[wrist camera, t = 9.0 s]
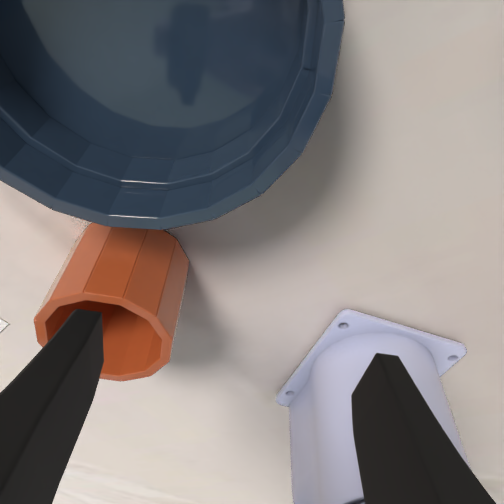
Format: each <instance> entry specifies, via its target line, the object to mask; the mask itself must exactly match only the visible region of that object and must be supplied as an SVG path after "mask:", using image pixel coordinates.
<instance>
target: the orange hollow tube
mask: <svg viewBox="0 0 504 504" xmlns="http://www.w3.org/2000/svg"><path fill="white" fill-rule="evenodd" d="M188 268H189V260H188V258H187V256H186V255H185V253H184V251H183V249H182V248H181V246H180V244H179V242H178V240H177V239H176V238H175V237H173V236H172V235H170V234H169V233H167V232H165V231H164V230H151V229H135V228H119V227H108V226H103V225H100V224H96V223H91V224H89V225H88V226H87V228H86V229H85V230H84V231H83V233H82V234H81V235H80V236H79V238H78V239H77V240H76V241H75V243H74V245H73V247H72V249H71V251H70V252H69V254H68V256H67V258H66V260H65V262H64V264H63V265H62V267H61V269H60V271H59V273H58V275H57V276H56V278H55V280H54V282H53V284H52V286H51V288H50V289H49V291H48V293H47V295H46V297H45V299H44V300H43V302H42V304H41V306H40V308H39V310H38V312H37V313H36V315H35V317H34V324H35V330H36V335H37V341H38V343H39V344H40V345H41V346H42V347H44V346H45V345H46V344H47V342H48V341H49V340H50V339H51V338H52V337H53V335H54V334H55V333H56V332H57V331H58V329H59V328H60V327H61V326H62V324H63V323H64V322H65V321H66V319H67V318H68V317H69V316H70V314H71V313H72V312H73V311H74V310H76V309H83V310H90V311H97V312H102V326H103V350H104V363H103V367H102V370H101V374H100V377H99V378H100V379H107V380H114V381H128V380H133V379H138V378H144V377H149V376H152V375H153V374H154V373H156V372H157V371H158V370H159V369H161V368H162V367H163V366H164V365H166V364H167V363H168V362H169V361H170V358H171V354H172V349H173V344H174V339H175V335H176V330H177V325H178V320H179V316H180V311H181V306H182V301H183V297H184V292H185V287H186V282H187V275H188Z"/></svg>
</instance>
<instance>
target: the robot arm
mask: <svg viewBox="0 0 504 504" xmlns="http://www.w3.org/2000/svg"><path fill="white" fill-rule="evenodd" d="M341 323H344V324H341ZM466 353H467V349H466V347H465V345H464V344H462V343H460V342H456V341H453V340H450V339H447V338H443V337H440V336H437V335H433V334H430V333H427V332H424V331H420V330H417V329H414V328H411V327H407V326H404V325H401V324H397V323H394V322H391V321H388V320H384V319H381V318H378V317H374V316H371V315H368V314H365V313H361V312H358V311H355V310H351V309H344V310H342V311H340V312H339V313H338V315H337V316H336V317H335V319H334V320H333V321H332V323H331V324H330V325H329V327H328V328H327V329H326V330H325V332H324V333H323V334H322V336H321V337H320V338H319V340H318V341H317V342H316V344H315V345H314V346H313V348H312V349H311V350H310V352H309V353H308V354H307V355H306V357H305V358H304V359H303V361H302V362H301V363H300V365H299V366H298V367H297V369H296V370H295V371H294V373H293V374H292V375H291V377H290V378H289V379H288V380H287V382H286V383H285V384H284V386H283V387H282V388H281V390H280V391H279V392H278V394H277V395H276V402H277V403H278V404H280V405H283V406H287V407H289V419H290V449H291V478H292V496H293V502H294V504H496V503H495V502H494V500H493V499H492V498H491V497H490V495H489V494H488V493H487V491H486V490H485V489H484V487H483V486H482V485H481V483H480V482H479V481H478V479H477V478H476V477H475V475H474V474H473V472H472V471H471V468H470V465H469V462H468V459H467V456H466V453H465V450H464V447H463V444H462V441H461V438H460V435H459V432H458V429H457V426H456V424H455V421H454V418H453V415H452V412H451V409H450V406H449V403H448V400H447V397H446V394H445V391H444V388H443V385H442V382H441V379H440V376H442V375H443V374H444V373H445V372H446V371H447V370H448V369H450V368H451V367H452V366H453V365H454V364H455V363H456V362H458V361H459V360H460V359H461V358H462V357H463V356H464V355H465V354H466ZM103 363H104V350H103V326H102V312H97V311H90V310H83V309H76V310H74V311H73V312H72V313H71V314H70V316H69V317H68V318H67V319H66V321H65V322H64V323H63V324H62V326H61V327H60V328H59V329H58V331H57V332H56V333H55V334H54V335H53V337H52V338H51V339H50V340H49V341H48V342H47V344H46V345H45V346H44V347H43V348H42V349H41V351H40V352H39V353H38V354H37V355H36V356H35V357H34V358H33V359H32V360H31V362H30V363H29V364H28V365H27V366H26V367H25V368H24V369H23V370H22V371H21V372H20V373H19V374H18V376H17V377H16V378H15V379H14V380H13V381H12V382H11V383H10V384H9V385H8V386H7V387H6V388H5V389H4V390H3V391H2V392H1V393H0V504H52V502H53V499H54V496H55V494H56V491H57V488H58V485H59V483H60V481H61V478H62V476H63V473H64V471H65V468H66V466H67V463H68V461H69V458H70V456H71V453H72V451H73V448H74V446H75V444H76V441H77V439H78V436H79V434H80V431H81V429H82V426H83V424H84V421H85V419H86V416H87V414H88V411H89V409H90V406H91V404H92V401H93V398H94V395H95V391H96V388H97V385H98V381H99V377H100V374H101V370H102V367H103Z"/></svg>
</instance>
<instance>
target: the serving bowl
mask: <svg viewBox="0 0 504 504" xmlns="http://www.w3.org/2000/svg"><path fill="white" fill-rule="evenodd" d="M344 19H345V14H344V5H343V0H0V181H2V182H4V183H6V184H7V185H9V186H11V187H13V188H15V189H16V190H18V191H20V192H22V193H23V194H25V195H27V196H29V197H30V198H32V199H34V200H36V201H37V202H39V203H41V204H43V205H44V206H46V207H48V208H50V209H51V208H52V210H54V211H58V212H61V213H64V214H67V215H70V216H74V217H77V218H80V219H83V220H87V221H90V222H93V223H96V224H100V225H103V226H108V227H119V228H135V229H151V230H162V229H163V230H166V229H171V228H176V227H181V226H186V225H191V224H196V223H201V222H206V221H211V220H214V219H217V218H219V217H221V216H223V215H224V214H226V213H228V212H230V211H232V210H234V209H236V208H238V207H240V206H242V205H243V204H245V203H247V202H249V201H251V200H253V199H255V198H257V197H259V196H260V195H261V194H263V193H264V192H265V191H266V190H267V189H268V188H269V187H270V186H271V185H272V184H273V183H274V182H275V181H276V180H277V179H278V178H279V177H280V176H281V175H282V174H283V173H284V172H285V171H286V170H287V169H288V168H289V167H290V166H291V165H292V164H293V163H294V162H295V161H296V160H297V159H298V158H299V157H300V156H301V154H302V153H303V152H304V150H305V148H306V146H307V144H308V142H309V140H310V138H311V136H312V134H313V132H314V130H315V129H316V127H317V125H318V123H319V121H320V119H321V117H322V115H323V113H324V111H325V109H326V107H327V105H328V103H329V101H330V99H331V95H332V93H333V88H334V83H335V77H336V71H337V65H338V59H339V53H340V47H341V42H342V36H343V30H344V24H345V22H344Z"/></svg>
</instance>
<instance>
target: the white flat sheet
mask: <svg viewBox="0 0 504 504" xmlns="http://www.w3.org/2000/svg"><path fill="white" fill-rule="evenodd" d="M8 324H9V323H7V322H5V321H3V320H1V319H0V332H1V331H2V330H3V329H4V328H5V327H6V326H7V325H8Z"/></svg>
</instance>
